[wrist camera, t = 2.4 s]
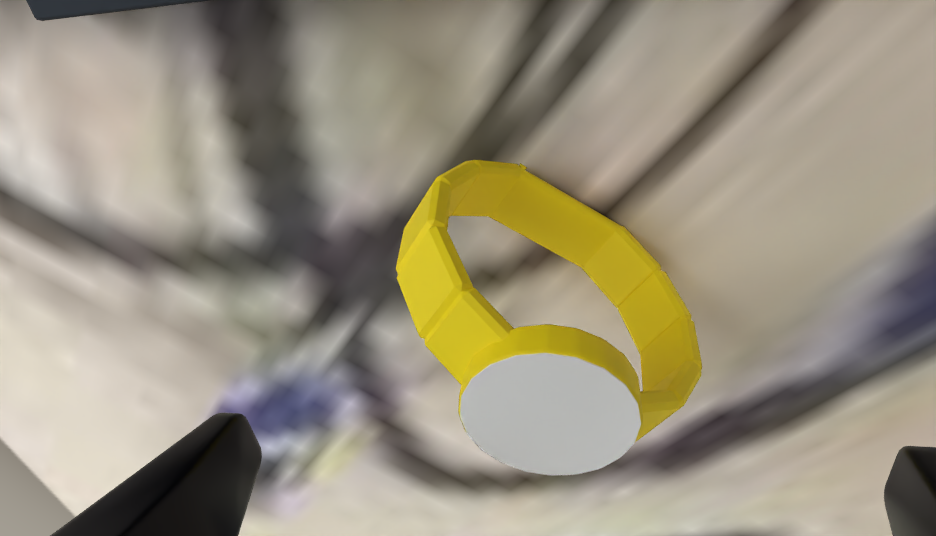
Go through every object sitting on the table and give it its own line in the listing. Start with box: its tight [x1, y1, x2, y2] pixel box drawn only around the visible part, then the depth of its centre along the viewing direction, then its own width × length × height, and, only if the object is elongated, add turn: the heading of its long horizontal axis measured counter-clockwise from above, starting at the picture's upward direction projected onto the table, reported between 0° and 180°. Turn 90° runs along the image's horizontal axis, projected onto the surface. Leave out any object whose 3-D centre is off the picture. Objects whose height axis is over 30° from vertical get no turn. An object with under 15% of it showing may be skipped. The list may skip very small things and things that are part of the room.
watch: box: [396, 160, 702, 475], centre depth 12 cm, size 6×3×6 cm, turn 60°
